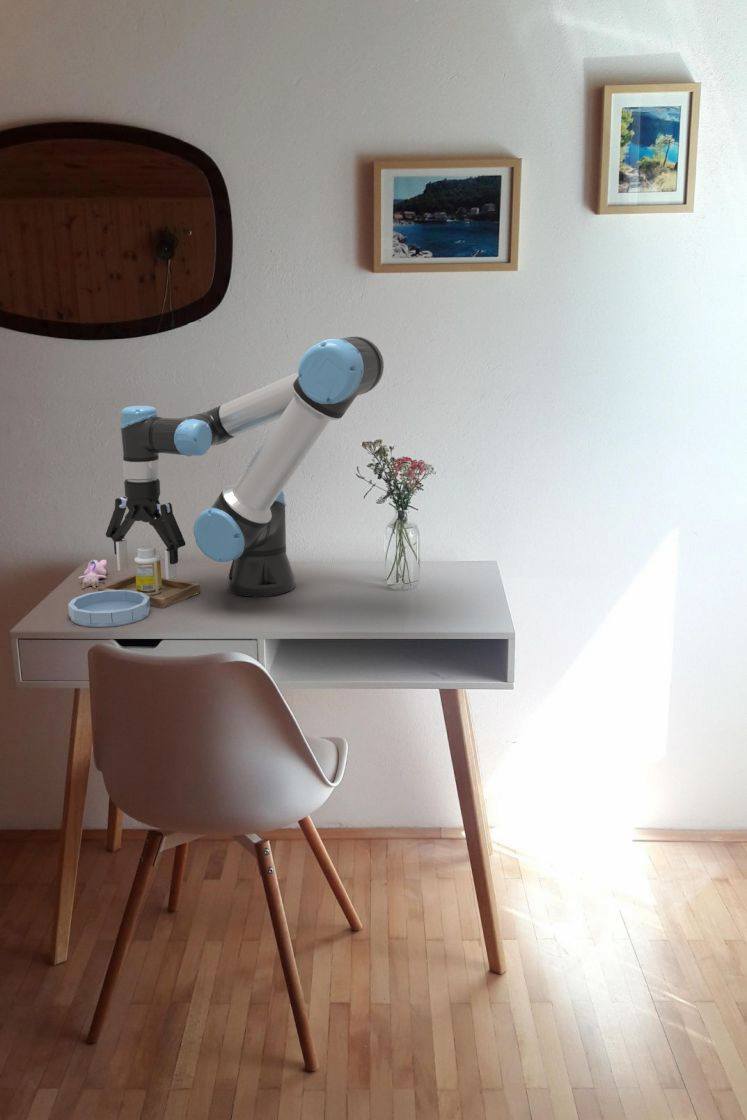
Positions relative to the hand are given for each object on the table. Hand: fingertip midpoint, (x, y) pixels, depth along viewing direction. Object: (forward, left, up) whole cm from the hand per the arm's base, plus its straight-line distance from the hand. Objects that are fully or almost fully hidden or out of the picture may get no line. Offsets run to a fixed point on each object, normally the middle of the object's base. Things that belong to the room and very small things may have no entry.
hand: (146, 573), depth 235 cm
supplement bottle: (0, 0, -5) cm, 5 cm away
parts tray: (0, 0, -5) cm, 5 cm away
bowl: (-2, +15, -5) cm, 16 cm away
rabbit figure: (+19, -3, -5) cm, 20 cm away
